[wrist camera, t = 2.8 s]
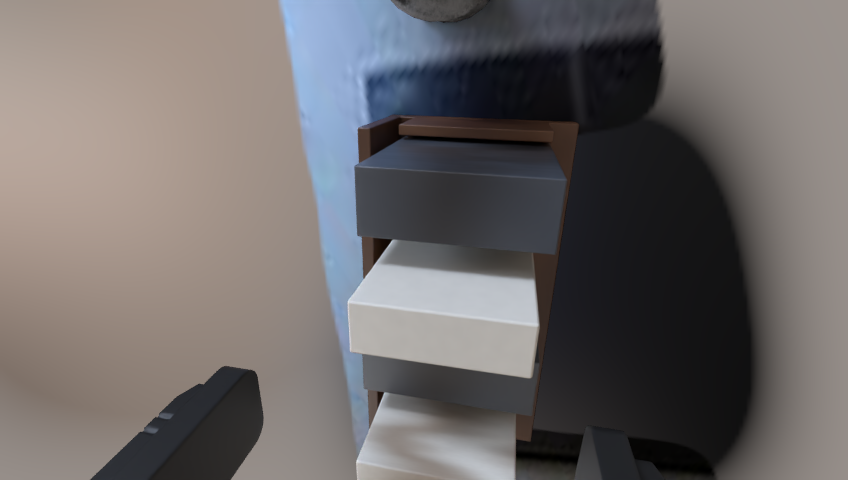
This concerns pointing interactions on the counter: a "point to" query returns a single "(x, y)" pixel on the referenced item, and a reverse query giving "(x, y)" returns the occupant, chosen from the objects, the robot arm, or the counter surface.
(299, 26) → the counter surface
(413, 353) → the white book
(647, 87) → the counter surface
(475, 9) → the stone chess piece
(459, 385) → the book rack
